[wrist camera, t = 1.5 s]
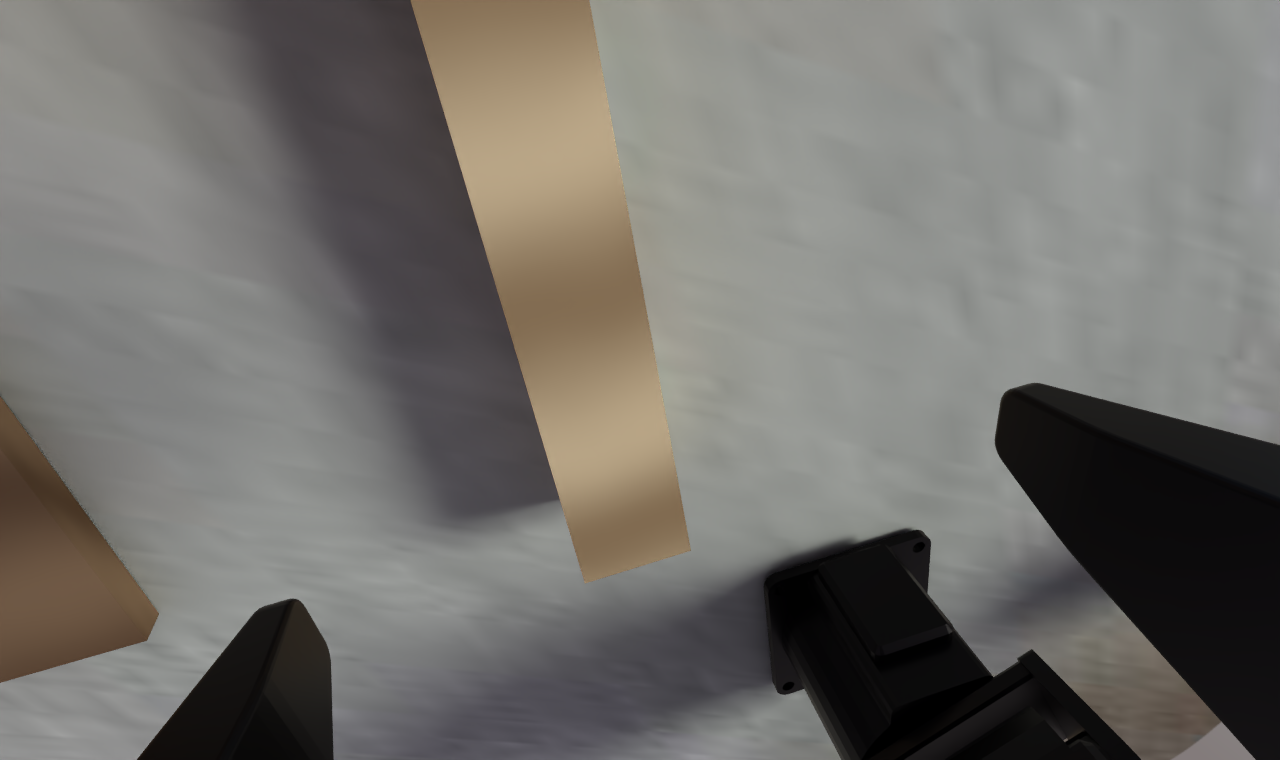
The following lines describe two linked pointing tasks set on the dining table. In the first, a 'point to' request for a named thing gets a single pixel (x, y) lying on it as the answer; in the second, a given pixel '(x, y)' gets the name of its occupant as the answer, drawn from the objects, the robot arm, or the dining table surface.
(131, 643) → the rest board
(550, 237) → the oak scraper
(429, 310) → the dining table surface
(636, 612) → the dining table surface
